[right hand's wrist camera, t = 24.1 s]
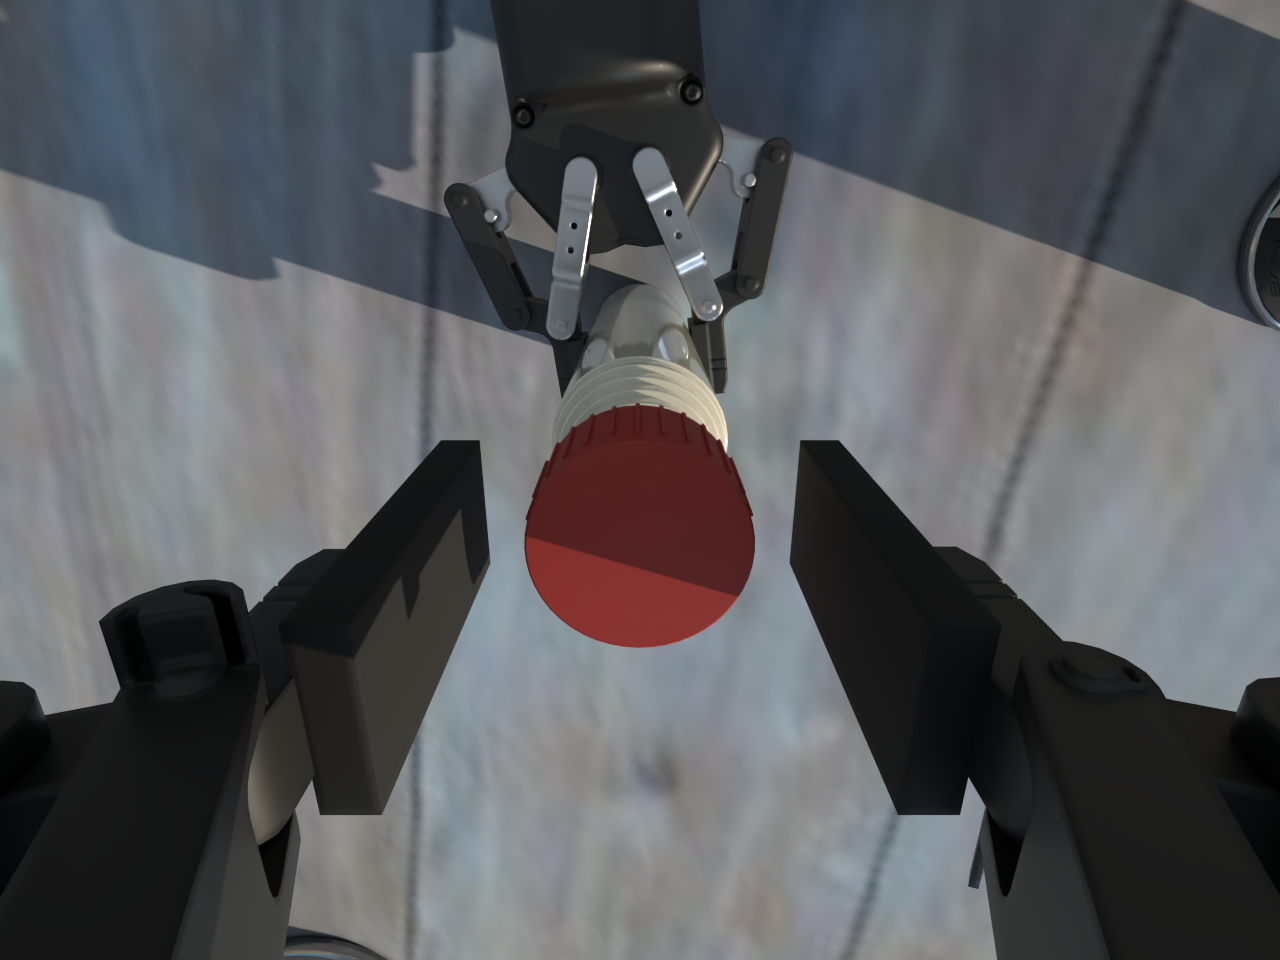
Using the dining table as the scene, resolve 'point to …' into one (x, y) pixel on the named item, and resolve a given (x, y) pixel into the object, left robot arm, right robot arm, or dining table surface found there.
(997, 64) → the dining table surface
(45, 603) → the dining table surface
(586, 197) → the left robot arm
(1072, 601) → the dining table surface
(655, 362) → the bottle
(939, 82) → the dining table surface
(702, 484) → the cap
